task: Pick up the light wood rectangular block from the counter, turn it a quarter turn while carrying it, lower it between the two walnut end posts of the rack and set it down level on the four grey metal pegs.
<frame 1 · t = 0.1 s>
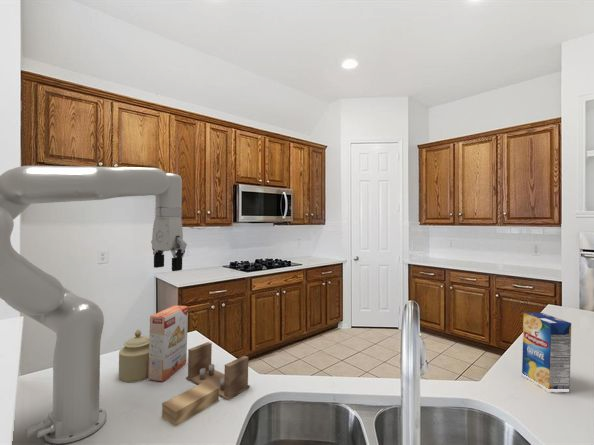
hand: (167, 268, 97), 37 cm above the countertop, tool pointing down, fingers open, 9 cm apart
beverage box: (544, 384, 103), on the countertop
light wood rectangular block: (191, 409, 86), on the countertop
cracker box: (168, 371, 107), on the countertop
rack: (217, 383, 100), on the countertop
sugar bowl: (139, 371, 107), on the countertop
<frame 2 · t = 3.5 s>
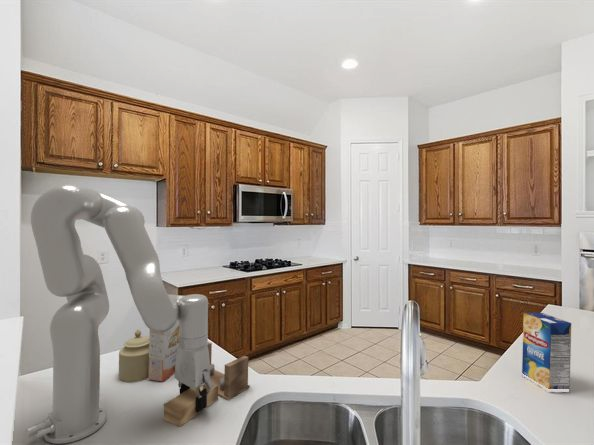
hand: (192, 404, 86), 1 cm above the countertop, tool pointing down, fingers closed on light wood rectangular block, 6 cm apart
light wood rectangular block: (192, 408, 86), on the countertop, touching gripper
everything else where it was.
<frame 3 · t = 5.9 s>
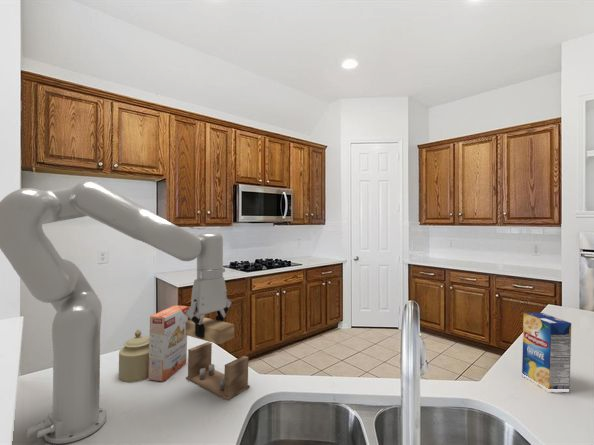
hand: (209, 332, 94), 18 cm above the countertop, tool pointing down, fingers closed on light wood rectangular block, 6 cm apart
light wood rectangular block: (209, 336, 94), point 17 cm above the countertop, touching gripper
everything else where it was.
when the fingers open (5 cm above the countertop, at t = 8.4 s): light wood rectangular block stays where it is, resting on rack.
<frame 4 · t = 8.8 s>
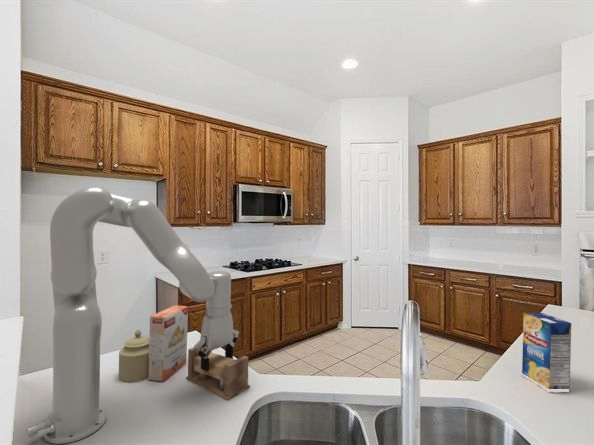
hand: (217, 364, 100), 6 cm above the countertop, tool pointing down, fingers open, 9 cm apart
light wood rectangular block: (216, 371, 100), point 4 cm above the countertop, touching rack
everything else where it was.
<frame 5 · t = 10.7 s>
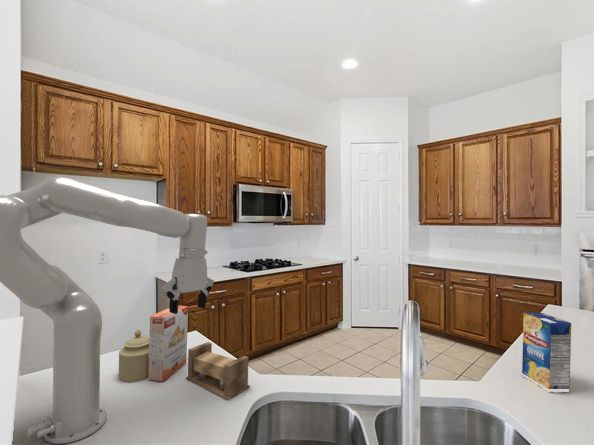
hand: (188, 310, 95), 24 cm above the countertop, tool pointing down, fingers open, 9 cm apart
nothing on the countertop moved.
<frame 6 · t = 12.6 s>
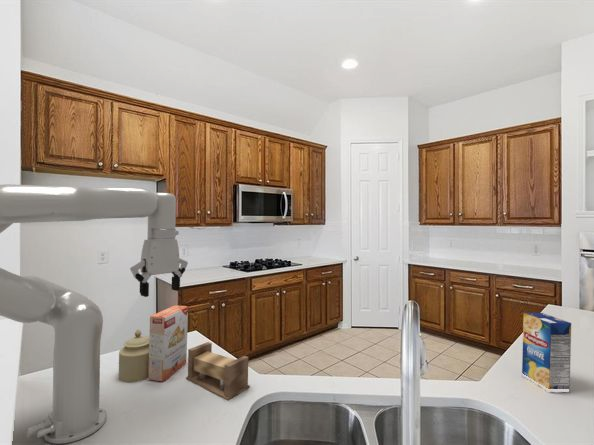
hand: (160, 293, 92), 30 cm above the countertop, tool pointing down, fingers open, 9 cm apart
nothing on the countertop moved.
at the end: light wood rectangular block 0.3 cm off-centre on the rack, point 3.6 cm above the rack's base; light wood rectangular block tilted 0°; the gripper is holding nothing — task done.
